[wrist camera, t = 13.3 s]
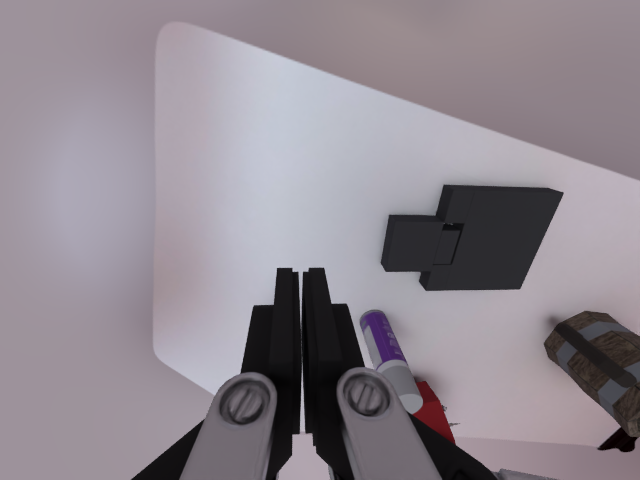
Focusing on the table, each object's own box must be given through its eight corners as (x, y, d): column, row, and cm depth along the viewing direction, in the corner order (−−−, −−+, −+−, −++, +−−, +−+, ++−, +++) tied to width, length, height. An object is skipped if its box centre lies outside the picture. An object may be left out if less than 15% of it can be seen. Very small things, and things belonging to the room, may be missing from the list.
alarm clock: (390, 369, 53) (441, 503, 35) (433, 361, 53) (505, 490, 35) (392, 414, 59) (435, 546, 42) (430, 407, 60) (490, 535, 42)
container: (389, 311, 46) (430, 394, 33) (381, 331, 48) (415, 418, 35) (363, 308, 45) (394, 392, 32) (356, 329, 47) (382, 416, 34)
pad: (389, 214, 38) (395, 221, 36) (453, 215, 39) (463, 222, 37) (380, 263, 42) (385, 272, 40) (439, 263, 43) (447, 271, 41)
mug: (623, 326, 54) (733, 399, 40) (566, 368, 58) (648, 446, 45) (571, 285, 48) (681, 354, 34) (511, 335, 52) (588, 414, 38)
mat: (443, 184, 37) (453, 189, 35) (548, 187, 39) (564, 192, 37) (418, 281, 44) (425, 290, 42) (508, 280, 46) (520, 289, 44)
